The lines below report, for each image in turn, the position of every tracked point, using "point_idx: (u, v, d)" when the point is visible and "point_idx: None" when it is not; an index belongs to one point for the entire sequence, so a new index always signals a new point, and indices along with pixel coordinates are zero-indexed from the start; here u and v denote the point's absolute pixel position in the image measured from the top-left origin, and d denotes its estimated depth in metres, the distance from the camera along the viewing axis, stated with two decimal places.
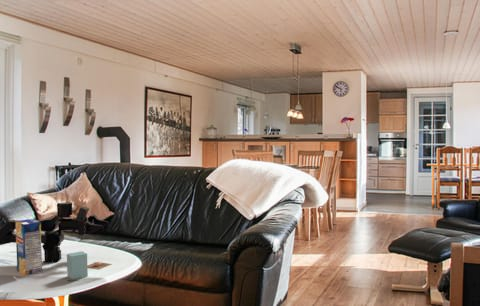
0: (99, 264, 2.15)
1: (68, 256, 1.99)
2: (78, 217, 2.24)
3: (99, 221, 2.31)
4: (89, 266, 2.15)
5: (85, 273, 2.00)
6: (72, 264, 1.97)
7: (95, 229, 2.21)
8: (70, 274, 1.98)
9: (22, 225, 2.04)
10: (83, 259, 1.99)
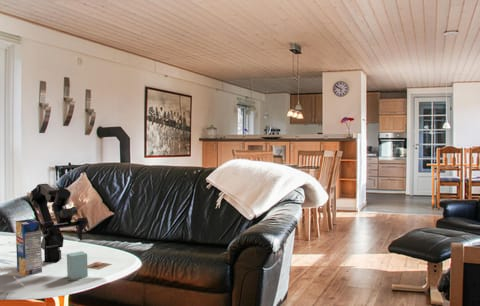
0: (99, 264, 2.15)
1: (68, 256, 1.99)
2: (59, 214, 2.09)
3: (79, 230, 2.12)
4: (89, 266, 2.15)
5: (85, 273, 2.00)
6: (72, 264, 1.97)
7: (54, 238, 2.05)
8: (70, 274, 1.98)
9: (22, 225, 2.04)
10: (83, 259, 1.99)
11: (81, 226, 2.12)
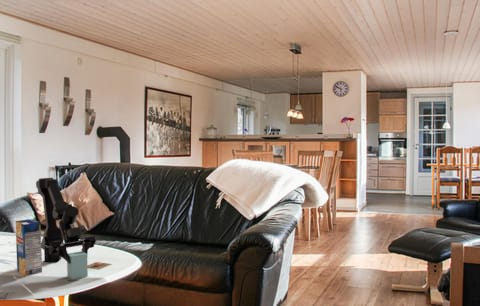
0: (99, 264, 2.15)
1: None
2: (66, 233, 2.02)
3: (84, 250, 2.04)
4: (89, 266, 2.15)
5: (85, 273, 2.00)
6: (72, 264, 1.97)
7: (64, 258, 1.99)
8: (70, 274, 1.98)
9: (22, 225, 2.04)
10: (83, 259, 1.99)
11: (86, 246, 2.04)
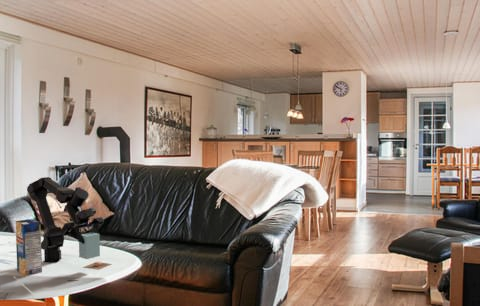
0: (99, 264, 2.15)
1: None
2: (78, 215, 2.08)
3: (94, 231, 2.11)
4: (89, 266, 2.15)
5: (97, 252, 2.08)
6: (87, 244, 2.04)
7: (78, 239, 2.05)
8: (84, 254, 2.05)
9: (22, 225, 2.04)
10: (96, 239, 2.07)
11: (96, 227, 2.12)
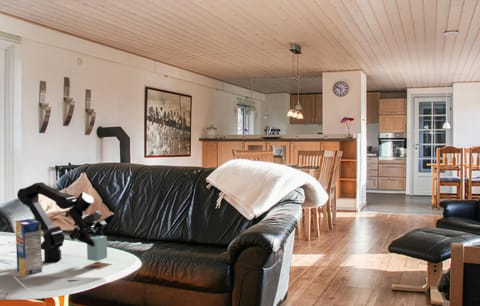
0: (99, 264, 2.15)
1: None
2: (85, 219, 2.15)
3: (100, 234, 2.19)
4: (89, 266, 2.15)
5: (105, 254, 2.17)
6: (97, 246, 2.12)
7: (87, 242, 2.12)
8: (94, 256, 2.13)
9: (22, 225, 2.04)
10: (104, 241, 2.16)
11: (101, 230, 2.20)
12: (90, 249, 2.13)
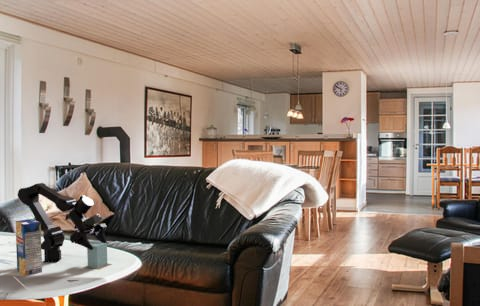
0: None
1: None
2: (85, 222, 2.15)
3: (102, 236, 2.20)
4: None
5: (105, 261, 2.17)
6: (97, 254, 2.12)
7: (85, 245, 2.11)
8: (94, 263, 2.13)
9: (22, 225, 2.04)
10: (104, 248, 2.16)
11: (103, 232, 2.21)
12: (90, 256, 2.13)
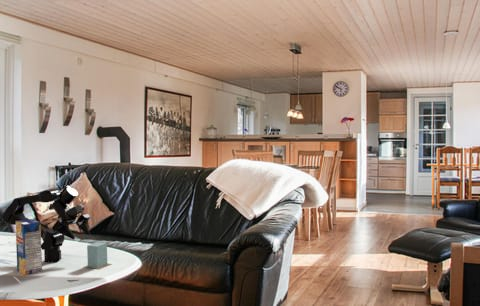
0: None
1: (90, 247, 2.13)
2: (67, 212, 2.19)
3: (85, 226, 2.25)
4: None
5: (105, 261, 2.17)
6: (97, 254, 2.12)
7: (67, 235, 2.15)
8: (94, 263, 2.13)
9: (22, 225, 2.04)
10: (104, 248, 2.16)
11: (86, 222, 2.26)
12: (90, 256, 2.13)
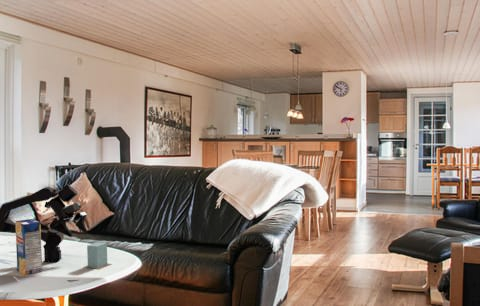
0: None
1: (90, 247, 2.13)
2: (64, 210, 2.21)
3: (81, 224, 2.27)
4: None
5: (105, 261, 2.17)
6: (97, 254, 2.12)
7: (64, 232, 2.17)
8: (94, 263, 2.13)
9: (22, 225, 2.04)
10: (104, 248, 2.16)
11: (83, 220, 2.28)
12: (90, 256, 2.13)
